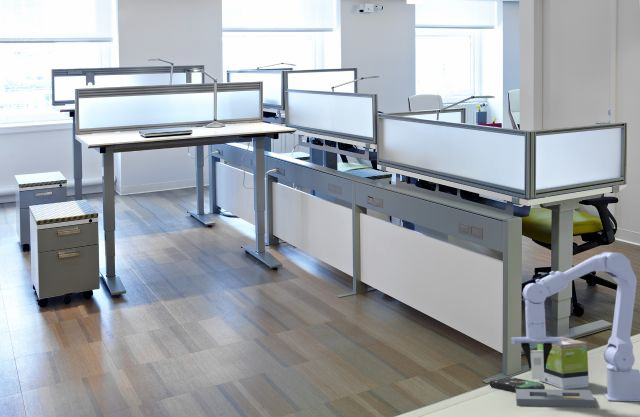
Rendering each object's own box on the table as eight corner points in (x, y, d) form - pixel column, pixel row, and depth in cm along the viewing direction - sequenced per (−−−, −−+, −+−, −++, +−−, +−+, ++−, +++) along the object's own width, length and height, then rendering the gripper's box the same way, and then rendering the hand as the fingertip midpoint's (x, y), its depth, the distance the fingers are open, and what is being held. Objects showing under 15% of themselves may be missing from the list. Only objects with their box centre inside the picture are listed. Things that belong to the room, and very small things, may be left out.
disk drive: (489, 389, 254) (522, 396, 241) (488, 380, 254) (522, 387, 242) (511, 385, 260) (545, 391, 247) (511, 376, 260) (545, 382, 247)
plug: (543, 376, 234) (542, 350, 235) (544, 379, 230) (543, 352, 230) (531, 376, 235) (530, 350, 236) (531, 379, 230) (530, 352, 231)
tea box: (537, 381, 262) (535, 337, 262) (563, 379, 264) (561, 335, 265) (563, 389, 247) (561, 343, 248) (590, 387, 250) (588, 341, 250)
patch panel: (590, 396, 236) (589, 389, 236) (595, 407, 222) (595, 399, 222) (516, 395, 241) (515, 388, 241) (516, 405, 227) (516, 398, 227)
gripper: (511, 324, 231) (512, 370, 231) (561, 324, 228) (563, 370, 227) (510, 321, 238) (512, 366, 237) (559, 321, 235) (561, 366, 234)
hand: (537, 368), depth 233 cm, fingers closed on plug, 4 cm apart
